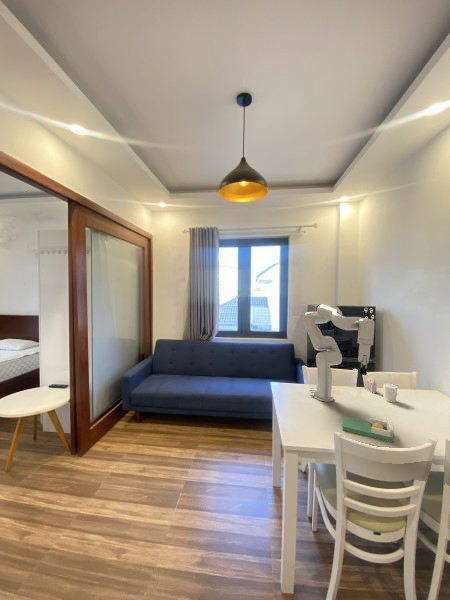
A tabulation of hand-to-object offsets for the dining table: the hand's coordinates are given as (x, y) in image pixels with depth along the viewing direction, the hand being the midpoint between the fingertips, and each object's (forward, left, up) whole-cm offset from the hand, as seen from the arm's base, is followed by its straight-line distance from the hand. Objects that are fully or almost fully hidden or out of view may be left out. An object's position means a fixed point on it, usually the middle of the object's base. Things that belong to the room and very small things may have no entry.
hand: (363, 373), depth 137 cm
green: (+2, -11, -27) cm, 29 cm away
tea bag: (+9, +50, -27) cm, 58 cm away
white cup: (+19, +38, -27) cm, 50 cm away
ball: (+7, -11, -24) cm, 27 cm away
